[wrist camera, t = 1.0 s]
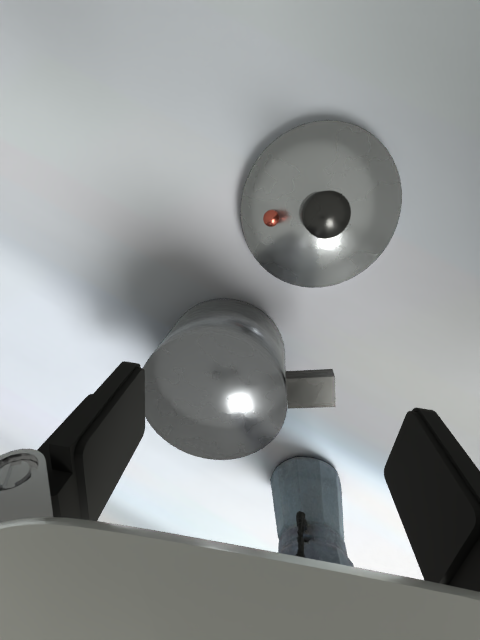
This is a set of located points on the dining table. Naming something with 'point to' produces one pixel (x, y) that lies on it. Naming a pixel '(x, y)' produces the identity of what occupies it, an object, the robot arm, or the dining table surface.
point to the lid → (321, 203)
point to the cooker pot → (226, 382)
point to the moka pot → (309, 510)
